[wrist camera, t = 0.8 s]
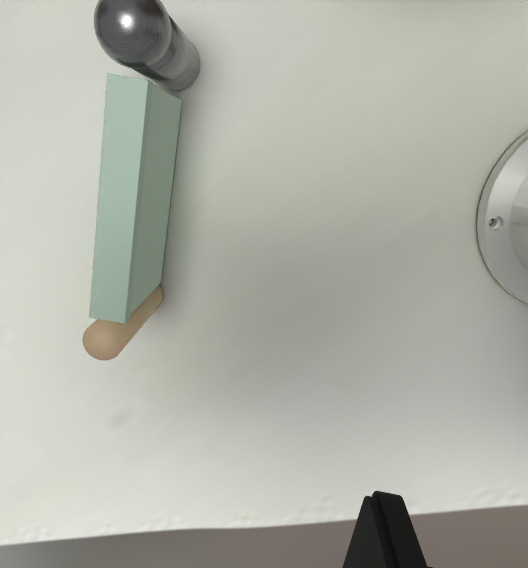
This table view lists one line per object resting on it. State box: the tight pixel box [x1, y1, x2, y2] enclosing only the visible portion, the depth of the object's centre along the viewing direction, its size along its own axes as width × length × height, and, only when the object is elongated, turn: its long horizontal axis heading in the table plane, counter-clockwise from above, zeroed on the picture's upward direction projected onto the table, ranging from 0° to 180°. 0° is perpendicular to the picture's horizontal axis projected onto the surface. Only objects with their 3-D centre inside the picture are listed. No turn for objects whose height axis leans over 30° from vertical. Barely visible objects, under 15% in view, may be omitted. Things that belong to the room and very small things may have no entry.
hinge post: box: [94, 0, 200, 90], centre depth 23 cm, size 3×3×10 cm
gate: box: [83, 73, 182, 360], centre depth 26 cm, size 14×2×8 cm, turn 170°
